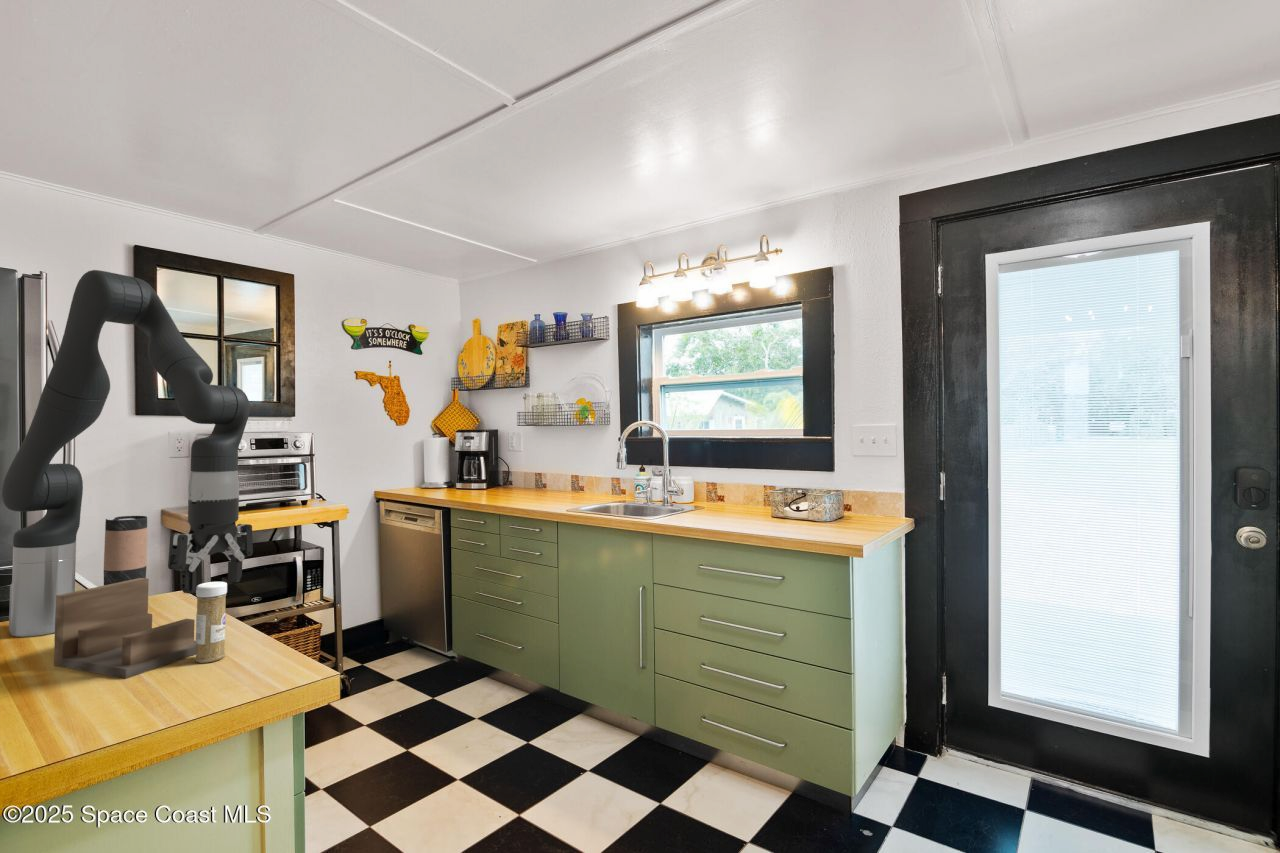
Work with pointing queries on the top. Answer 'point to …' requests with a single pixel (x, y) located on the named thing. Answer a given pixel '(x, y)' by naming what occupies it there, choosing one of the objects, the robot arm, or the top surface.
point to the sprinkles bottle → (210, 621)
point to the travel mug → (125, 549)
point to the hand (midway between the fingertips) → (212, 587)
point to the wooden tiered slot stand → (116, 631)
